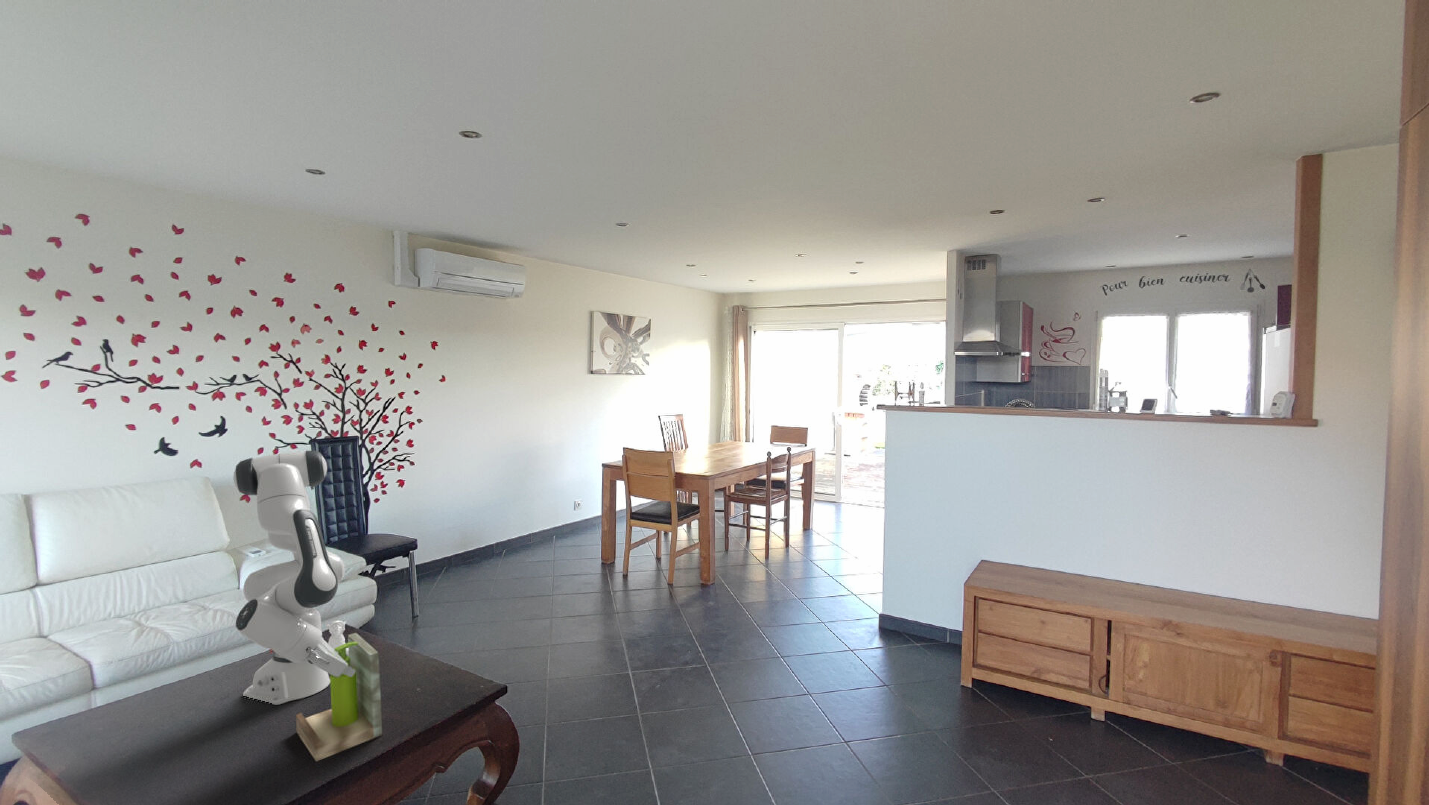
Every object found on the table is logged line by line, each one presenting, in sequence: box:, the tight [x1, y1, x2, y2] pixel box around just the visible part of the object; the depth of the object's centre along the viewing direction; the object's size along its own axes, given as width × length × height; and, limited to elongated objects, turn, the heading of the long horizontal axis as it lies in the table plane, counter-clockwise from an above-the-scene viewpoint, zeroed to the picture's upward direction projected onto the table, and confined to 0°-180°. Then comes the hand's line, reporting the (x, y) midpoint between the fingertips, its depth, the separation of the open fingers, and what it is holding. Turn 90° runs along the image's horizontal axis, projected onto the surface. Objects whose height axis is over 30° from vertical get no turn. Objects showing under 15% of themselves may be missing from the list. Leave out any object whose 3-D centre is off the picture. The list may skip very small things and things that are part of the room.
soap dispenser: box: [329, 641, 358, 727], centre depth 164 cm, size 6×7×20 cm
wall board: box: [295, 632, 383, 762], centre depth 163 cm, size 15×18×22 cm
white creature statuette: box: [325, 620, 349, 656], centre depth 207 cm, size 10×9×12 cm
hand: (347, 667), depth 165 cm, fingers open, 8 cm apart
